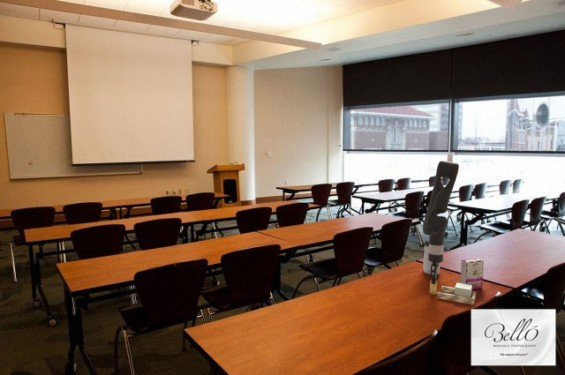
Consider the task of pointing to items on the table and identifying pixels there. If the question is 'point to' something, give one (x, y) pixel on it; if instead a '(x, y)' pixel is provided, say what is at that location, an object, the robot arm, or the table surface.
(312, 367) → the table surface
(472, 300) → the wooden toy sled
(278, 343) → the table surface
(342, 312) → the table surface
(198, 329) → the table surface
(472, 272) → the candy bar box
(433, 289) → the tethered block
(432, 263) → the robot arm
